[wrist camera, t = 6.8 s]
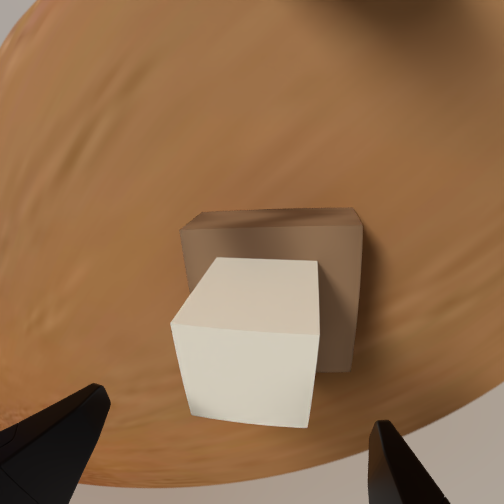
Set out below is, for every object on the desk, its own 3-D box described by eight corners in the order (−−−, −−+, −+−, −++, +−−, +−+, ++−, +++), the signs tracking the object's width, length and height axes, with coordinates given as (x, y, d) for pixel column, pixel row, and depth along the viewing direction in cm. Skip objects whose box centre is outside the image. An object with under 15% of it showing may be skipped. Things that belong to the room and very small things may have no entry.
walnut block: (352, 206, 18) (363, 225, 14) (345, 333, 21) (350, 371, 17) (203, 210, 19) (179, 230, 16) (221, 331, 23) (205, 367, 19)
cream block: (317, 260, 15) (319, 334, 10) (311, 343, 17) (307, 428, 11) (216, 257, 16) (170, 323, 10) (223, 337, 18) (191, 414, 12)
